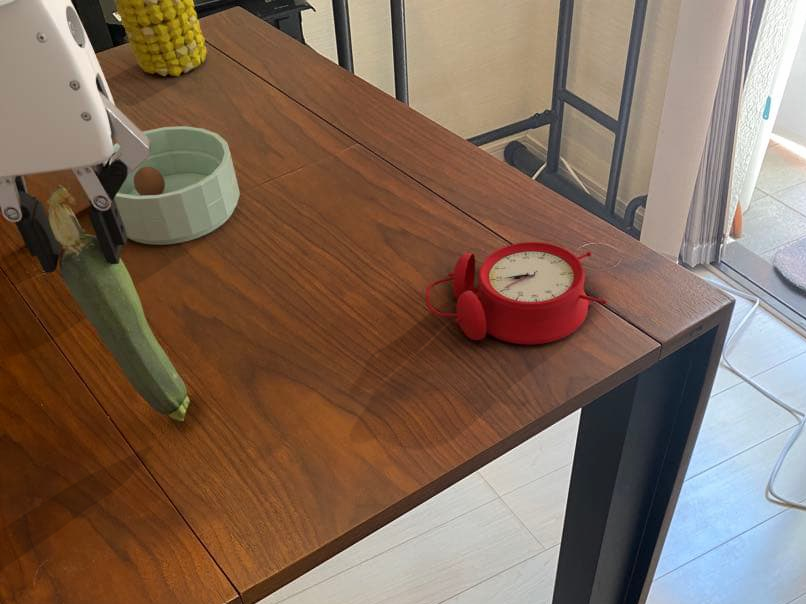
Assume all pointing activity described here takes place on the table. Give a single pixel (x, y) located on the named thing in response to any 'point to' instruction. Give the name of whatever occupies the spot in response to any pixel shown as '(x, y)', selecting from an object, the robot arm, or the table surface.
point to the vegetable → (115, 310)
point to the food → (163, 34)
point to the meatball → (149, 181)
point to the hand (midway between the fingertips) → (83, 254)
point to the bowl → (181, 187)
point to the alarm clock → (520, 294)
